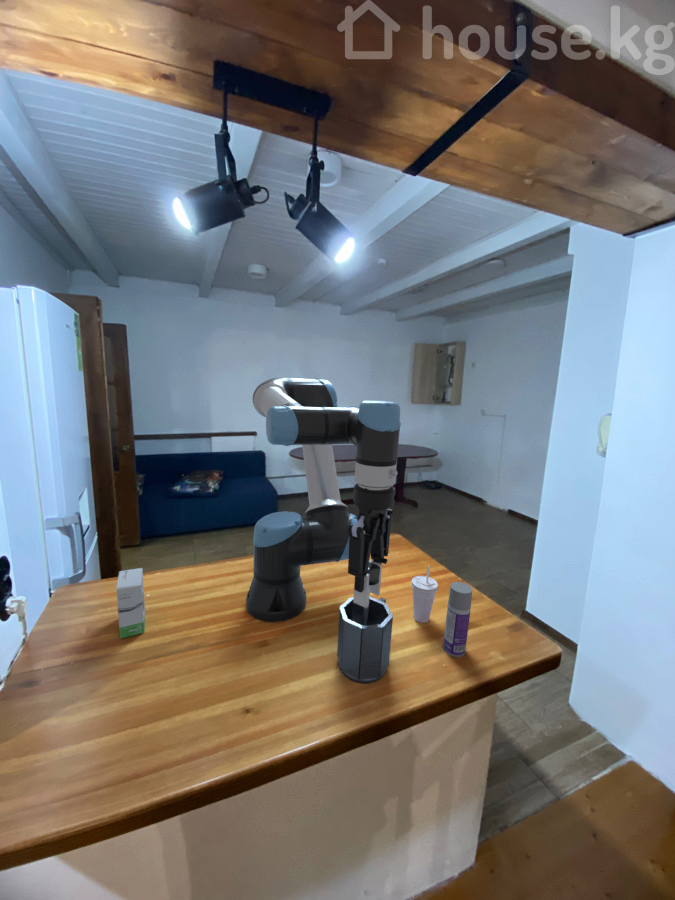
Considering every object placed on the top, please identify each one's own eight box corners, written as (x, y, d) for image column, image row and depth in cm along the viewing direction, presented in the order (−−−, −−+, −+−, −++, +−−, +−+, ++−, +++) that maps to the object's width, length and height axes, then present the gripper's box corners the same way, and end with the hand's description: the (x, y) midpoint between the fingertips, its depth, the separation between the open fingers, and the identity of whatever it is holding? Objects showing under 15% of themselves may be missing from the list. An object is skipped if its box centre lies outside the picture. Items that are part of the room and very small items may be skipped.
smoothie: (435, 628, 87) (440, 574, 84) (407, 623, 88) (412, 570, 86) (433, 612, 93) (439, 561, 91) (408, 608, 94) (412, 558, 92)
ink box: (144, 633, 81) (142, 584, 79) (119, 639, 79) (115, 589, 76) (145, 611, 88) (142, 566, 86) (121, 616, 86) (118, 570, 84)
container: (466, 646, 82) (474, 585, 79) (463, 660, 77) (472, 596, 75) (444, 639, 83) (451, 579, 81) (441, 652, 79) (448, 589, 76)
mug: (328, 667, 74) (331, 613, 71) (360, 633, 84) (363, 586, 82) (371, 692, 68) (376, 635, 66) (400, 652, 79) (405, 602, 76)
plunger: (339, 648, 73) (343, 569, 70) (357, 629, 79) (362, 555, 76) (370, 664, 69) (376, 582, 66) (387, 643, 75) (393, 566, 72)
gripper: (369, 500, 59) (360, 629, 63) (412, 479, 73) (402, 585, 77) (331, 490, 63) (325, 612, 67) (378, 472, 77) (371, 574, 81)
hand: (366, 597), depth 72 cm, fingers closed on plunger, 4 cm apart
